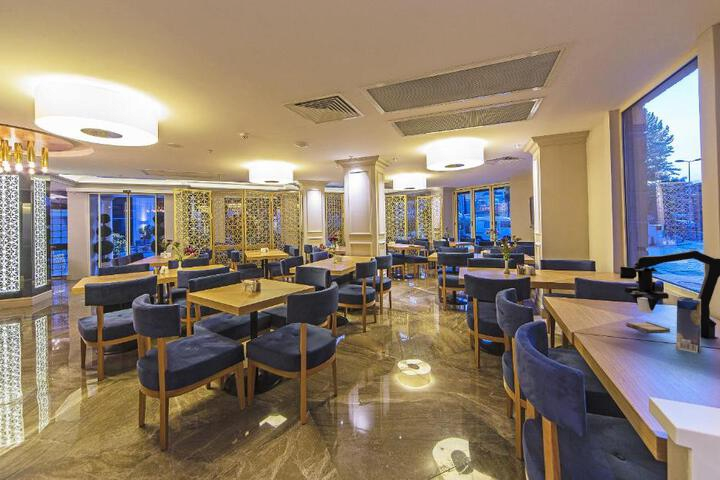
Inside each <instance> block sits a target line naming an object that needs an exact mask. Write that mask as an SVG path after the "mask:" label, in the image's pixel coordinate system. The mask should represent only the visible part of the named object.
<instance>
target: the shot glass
mask: <svg viewBox="0 0 720 480" xmlns="http://www.w3.org/2000/svg"><path fill="white" fill-rule="evenodd" d="M637 302H638V305H637V308H638V312H641V313H647V314H652V313H654V309H653V310H650V307H649V303H648V297H643V296H642V297H638V298H637Z"/></svg>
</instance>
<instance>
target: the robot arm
mask: <svg viewBox="0 0 720 480" xmlns="http://www.w3.org/2000/svg"><path fill="white" fill-rule="evenodd" d="M691 259H692V260H693V259H694V260H696V261H698V262H701V263H703V264H704V274H705V275H704V277H703V281H702V285H701V287H700V290H699V293H698V296H697V299H701V339H706V340H707V339H708V340H710V339H711V340H713V339H719V337H717V336H716V325H717V322H715V321H714V320H712V319H711V318H710V316H711V315H710V314H711V311H710V304H711V301H712V299H713V298H712V297H713V296H714V295H713V294H714V292H715V289H716V286H717V283H718V280H719V278H720V258H719V257H714V256H713V257H712V256H709V255H707V254H705V253H702V252H700V251H698V250H694V249H692V250H688V251H682V252H675V253H668V254H663V255H662V254H661V255H640V256H639V257H637V259H636V263H634V264H633V265H632V266H622V265H621V266H620V269H619V279H622V280H623V279H624V280H634V279H636V278H637V280H636V281H635V284H637V287H636V286H627V287H625V288H624V293H626V294H627V293H628V295H629V296H631V297H632V299H633V300H634V302H635V303H636V306H638V302H637V298H638V297H643V296H644V295H647V296H650V297H647V298H648V303H649V307H650V310H653V311H654V309H655V307H656V305H657V303H658V302H659V301H660V300H665V299H666V300H667V299H668V300H669V299H670V297H669V294H668V293H667V292H664V290H665V289H664V288H665V287H664V286H660V285H658V284H656V281H654V280H653V278H654V277H653V276H654V275H653V273H654V272H656V273H657V272H659V271H658V270H657V269H656V268H655V267H654V266H658V265H660V264H663V263H664V264H665V263H672V262H680V261H686V260H691Z"/></svg>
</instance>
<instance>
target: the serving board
mask: <svg viewBox="0 0 720 480" xmlns="http://www.w3.org/2000/svg"><path fill="white" fill-rule="evenodd" d="M625 325H626V326H627V327H630V328H633V329H635V330H639V331H642V332H645V333H670V332H671V328H669V327H665V326H662V325H661V324H657V323H653V322H650V321H645V322H628V321H627V322H626V324H625Z"/></svg>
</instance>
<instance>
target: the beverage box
mask: <svg viewBox="0 0 720 480" xmlns="http://www.w3.org/2000/svg"><path fill="white" fill-rule="evenodd" d="M701 340H702V338H701V299H698V297H697V298H695V297H685V296H678V298H677V300H676V347H675V348H676V350H681V351H685V352H689V353H695V354H700V353H701V352H700V351H701V342H702V341H701Z"/></svg>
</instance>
